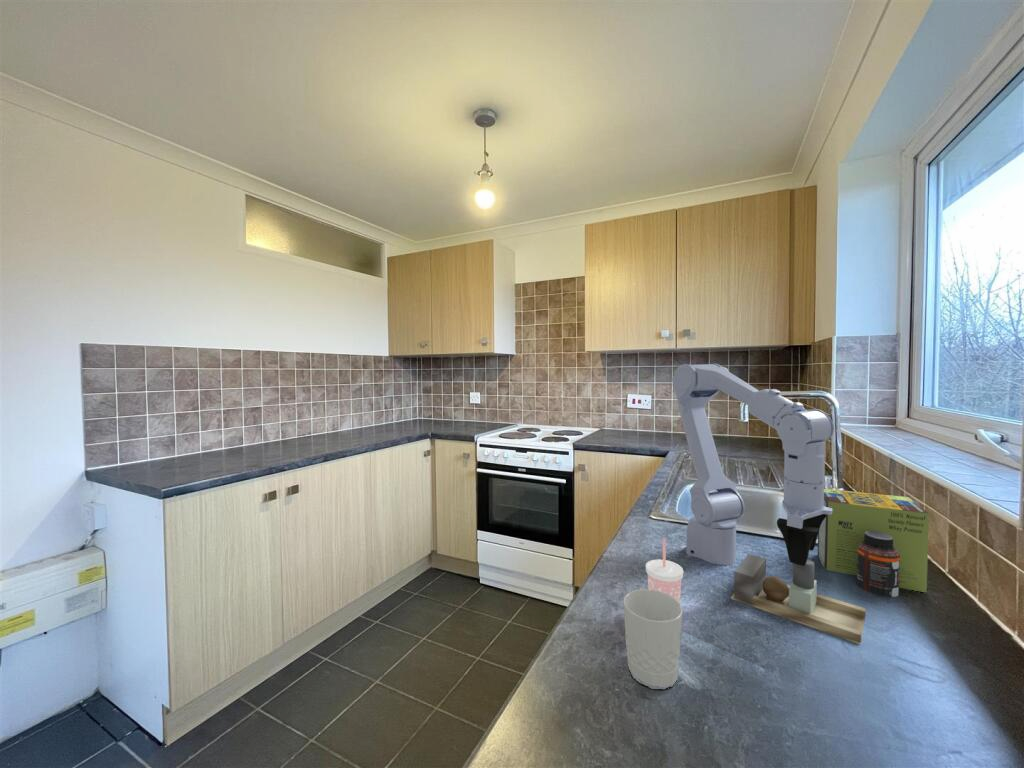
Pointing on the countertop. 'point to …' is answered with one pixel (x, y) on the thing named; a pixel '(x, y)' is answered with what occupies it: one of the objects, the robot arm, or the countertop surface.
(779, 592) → the nut
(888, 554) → the supplement bottle
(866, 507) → the protein box
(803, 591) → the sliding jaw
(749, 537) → the countertop surface
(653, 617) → the white cup
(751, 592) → the base
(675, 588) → the beverage cup
